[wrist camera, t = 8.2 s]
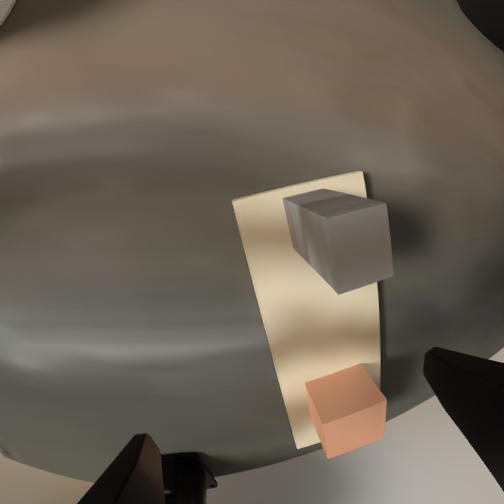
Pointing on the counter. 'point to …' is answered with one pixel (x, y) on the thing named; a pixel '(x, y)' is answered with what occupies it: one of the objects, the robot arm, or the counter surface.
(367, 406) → the block
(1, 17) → the mug
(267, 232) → the strip
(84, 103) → the counter surface
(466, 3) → the high-heeled shoe
